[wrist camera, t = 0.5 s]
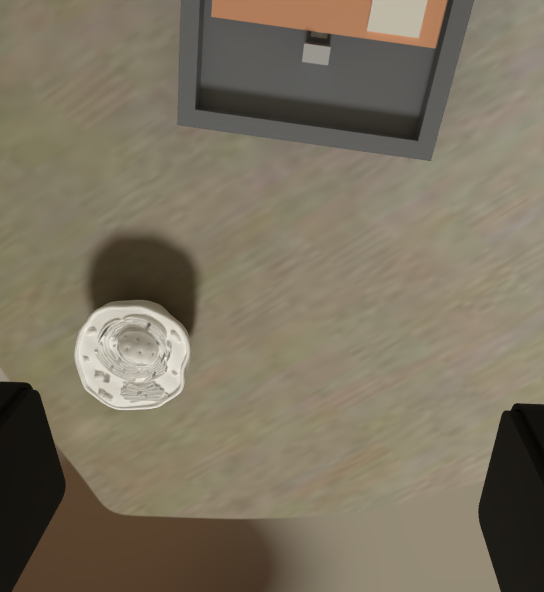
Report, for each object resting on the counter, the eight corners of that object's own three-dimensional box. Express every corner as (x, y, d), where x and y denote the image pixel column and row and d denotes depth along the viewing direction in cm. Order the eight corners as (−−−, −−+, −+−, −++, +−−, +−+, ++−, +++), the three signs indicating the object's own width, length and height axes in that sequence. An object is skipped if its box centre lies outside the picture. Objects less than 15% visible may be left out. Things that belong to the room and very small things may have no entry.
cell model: (75, 346, 50) (41, 390, 44) (129, 256, 45) (99, 292, 39) (164, 397, 52) (144, 445, 46) (226, 316, 47) (211, 359, 41)
